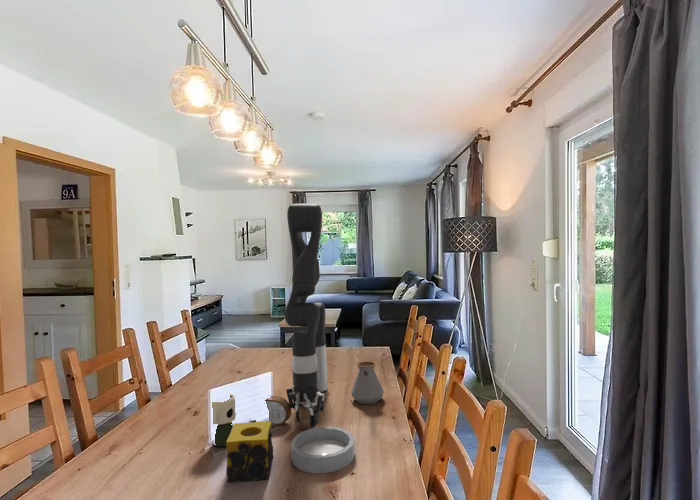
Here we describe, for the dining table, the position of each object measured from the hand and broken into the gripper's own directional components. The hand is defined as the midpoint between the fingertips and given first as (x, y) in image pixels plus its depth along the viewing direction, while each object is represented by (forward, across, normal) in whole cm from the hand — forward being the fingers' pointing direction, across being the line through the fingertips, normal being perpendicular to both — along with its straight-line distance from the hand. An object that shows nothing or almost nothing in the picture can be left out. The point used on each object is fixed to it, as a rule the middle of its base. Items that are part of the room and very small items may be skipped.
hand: (306, 424), depth 121 cm
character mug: (+1, -15, -19) cm, 24 cm away
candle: (+1, +2, -25) cm, 25 cm away
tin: (+1, -13, -3) cm, 13 cm away
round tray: (+1, +14, -11) cm, 18 cm away
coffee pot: (+1, +8, +22) cm, 24 cm away
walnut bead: (+1, 0, 0) cm, 1 cm away
